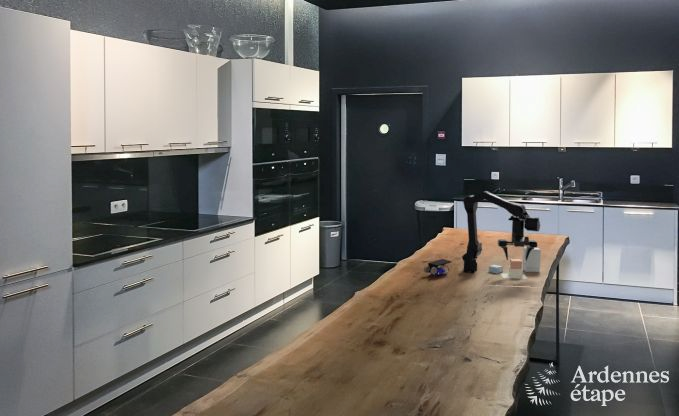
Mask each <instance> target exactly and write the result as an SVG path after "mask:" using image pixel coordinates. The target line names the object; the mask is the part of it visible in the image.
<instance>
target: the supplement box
mask: <svg viewBox="0 0 679 416" xmlns="http://www.w3.org/2000/svg"><path fill="white" fill-rule="evenodd" d="M526 247H527V246H524V247H522V249H523V252H522V254H523V255H522V269H523V272H527V273H541V253H542V251H541V249H540V248H539V247H537V248H534V249H532V250H531V252H530V253H529V256H528V258H527V261H525V255H526Z"/></svg>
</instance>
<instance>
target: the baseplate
mask: <svg viewBox="0 0 679 416" xmlns="http://www.w3.org/2000/svg"><path fill="white" fill-rule="evenodd" d="M499 274H500V276H501V277H502V279H519V280H528V277H527V276H526V274H524V273H523V277H510V276H509V273H503V272H501V273H499Z"/></svg>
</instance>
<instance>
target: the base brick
mask: <svg viewBox="0 0 679 416" xmlns="http://www.w3.org/2000/svg"><path fill="white" fill-rule="evenodd" d="M508 274H509V276H510V277H523V274H524V270H523V269H511V267H510V265H509V266H508Z"/></svg>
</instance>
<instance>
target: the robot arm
mask: <svg viewBox="0 0 679 416" xmlns="http://www.w3.org/2000/svg"><path fill="white" fill-rule="evenodd" d="M482 201H486V202H487V201H488V202H489V203H491V204H493V205H496V206H498V207H500V208H502V209H504V210H506V211H507V212H508V213H510V215H511V216H510V217H509V218H508V221H511V222H512V224H511V240H507V239H501V238H499V239H498V240H497V246H498V247H500V248H501V249H502V250H503V252H504V256H505V258H506V261H508V259H509V254H508V246H514V247H516V248H517V247H519V248H520V247H521V248H524V247H526V255H525V261H527V258H528V256H529V253H530V252H531V250H532V249H534V248H538V242H537V241H536V240H534V239H530V238H529V236H525V230H526V231H528V232H539V231H540V230H541V229H540V228H541V222H540V218H539V217H531V216H530V215H529V214H528V212H527V208H526V206H525V205H524V204H521V203H517V202H513V201H508V200H507V199H504V198H502V197H500V196H498V195H496V194H494V193H491V192H490V191H488V190H487V191H486V190H485V191H483V192H480V193H479V194H478V193H477V194H476V195H474V194H472V195H468V196H465V197H464V199H463V202H462V204H463V208H464V209H465V212H466V217H467V231H468V242H467V244H466V245H467V246H466V253H464V254H463V255H462V256H461V259H462V261H463V266H462V267H463V268H462V271H463V273H475V271H476V272H477V271H478V261H477V259H478V256H480V255H481V254H482V251H483V246H482V245H483V243H482V242H479V239H478V228H477V227H478V225H477V210H478V206H479V205H478V204H479V203H481V202H482Z"/></svg>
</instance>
